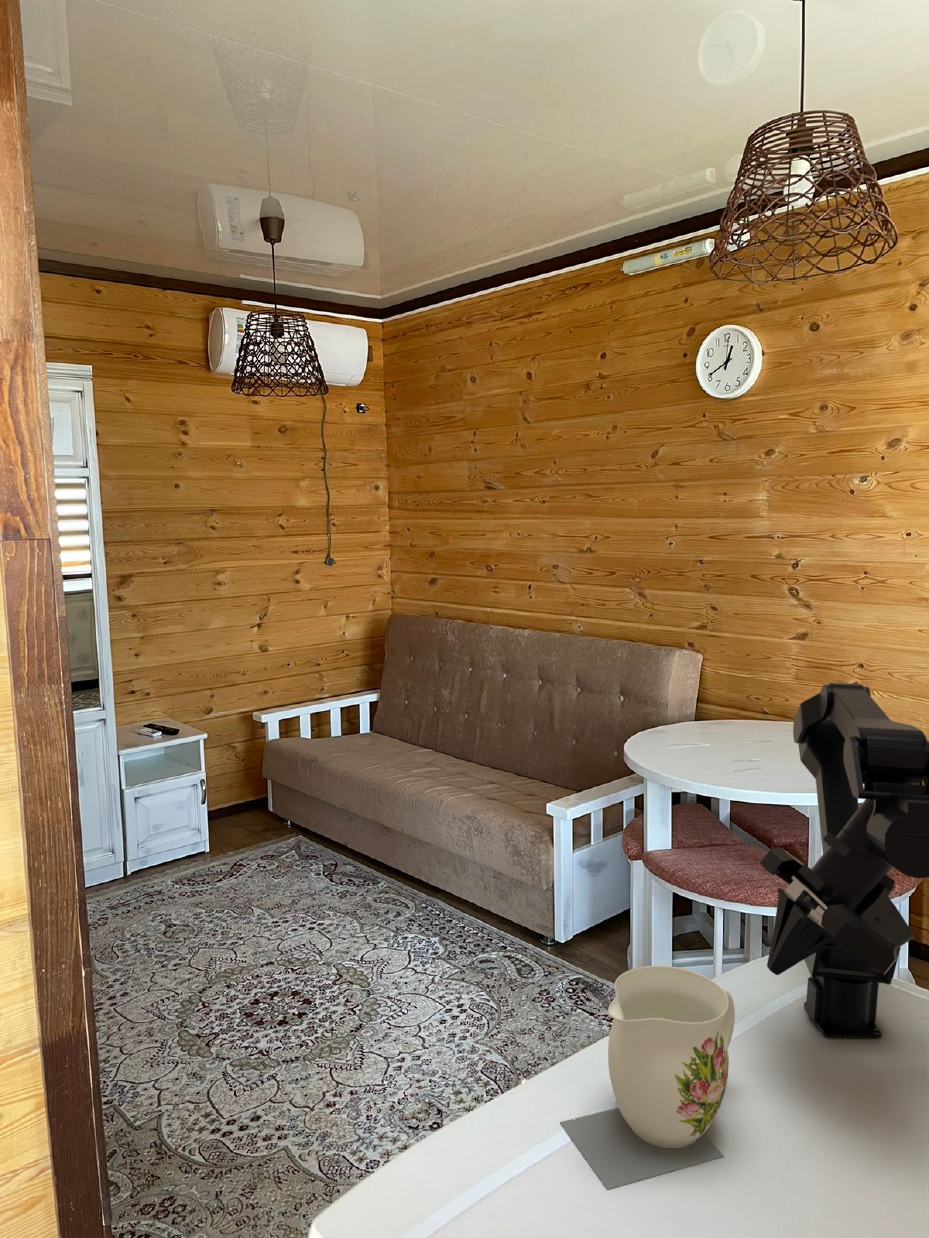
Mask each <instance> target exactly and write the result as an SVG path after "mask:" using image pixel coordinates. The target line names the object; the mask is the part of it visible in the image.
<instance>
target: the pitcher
mask: <svg viewBox="0 0 929 1238" xmlns="http://www.w3.org/2000/svg"><path fill="white" fill-rule="evenodd" d="M614 992H615V998H614V999H613V1000H612V1001H611V1002H610V1004H609V1005H608V1009H607V1014H608V1016H609V1017H611V1018H612V1019H613V1022H612V1024H611V1028H610V1030H609V1031H610V1033H609V1037H608V1046H607V1049H608V1051H607V1059H608V1060H607V1061H608V1062H607V1063H608V1074H609V1079H610V1083H611V1087H612V1092H613V1095H614V1099H615V1102H616V1104H617V1108H619V1109H620V1111H621V1113H622V1115H623V1117H624V1119H625V1120H626V1122H627V1123H628V1124H629V1126H630V1127H631V1129H632V1130H633V1132H634V1133H635V1134H636V1135H637V1136H638V1137H640V1138H641V1139H643V1140H644V1141H646V1142H648V1143H650V1144H652V1145H655V1146H659V1147H663V1148H682V1147H686V1146H688V1145H691V1144H692V1143H694V1142H695V1141H696V1140H697V1139H698V1138H699V1137H700V1136H701V1135H702V1134H705V1133H706V1132H707V1131H708V1129H709V1128H710V1126H711V1125H712V1123H713V1122H714V1119H715V1118H716V1116H717V1115H718V1111H719V1110H720V1107H721V1105H722V1102H723V1099H724V1096H725V1091H726V1088H727V1084H728V1083H727V1082H728V1078H729V1077H728V1076H729V1066H730V1065H729V1064H730V1056H729V1055H730V1054H729V1048H730V1044H731V1041H732V1038H733V1032H734V1026H735V1017H736V1016H735V1015H736V1014H735V1013H736V1011H735V1001H734V999H733V996H732V994H731V993H730V991H729V990H727V989H725V988H724V987H721V986H720V985H719V984H718V983H717V982H715V981H714V980H712V979H710V978H709V977H707V976H705V975H703V974H702V973H701V974H700V973H698V972H696V971H693V970H689V969H685V968H682V967H675V966H670V965H669V966H668V965H646V966H645V965H644V966H639V967H636V968H632V969H630V970H626V971H625V972H623V973H621V974H620V975H619V976H618V977H617V978H616V980H615V981H614Z"/></svg>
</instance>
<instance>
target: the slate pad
mask: <svg viewBox="0 0 929 1238" xmlns="http://www.w3.org/2000/svg"><path fill="white" fill-rule="evenodd" d="M574 1119H575V1120H574ZM559 1125H560V1126H561V1127H562V1128H563V1130H564V1129H565V1130H564V1131H565V1133H566V1135H567V1136H568V1137H569V1138H570V1140H571V1141H572V1142H573V1144H574V1146H575V1147H576V1149H577V1150H578V1151H579V1153H580V1154H581V1156H582V1157H583V1158H584V1160H585V1161H586V1162H587V1164H588V1165H589V1167H590V1168H591V1170H592V1171H593V1173H594V1174H595V1176H597V1178H598V1180H599V1181H600V1183H601V1184H602V1185H603V1187H604V1188H605V1190H606V1191H610V1190H614V1189H618V1188H621V1187H625V1186H628V1185H630V1184H634V1183H638V1182H641V1181H644V1180H645V1181H646V1180H649V1179H653V1178H656V1177H659V1176H662V1175H663V1176H664V1175H667V1174H670V1173H673V1172H677V1171H681V1170H684V1169H688V1168H691V1167H695V1166H699V1165H701V1164H705V1163H709V1162H712V1161H716V1160H719V1159H722V1158H723V1159H724V1158H725V1155H724V1154H723V1153H722V1151H720V1149H718V1147H717V1146H716V1144H714V1143H713V1142H712V1141H711V1140H710V1138H709V1137H707V1135H706V1134H705V1133H704V1134H702V1135H701V1136H700V1137H699V1138H698V1139H697V1140H696V1141H695V1142H694V1143H692V1144H691V1145H688V1146H686V1147H682V1148H663V1147H659V1146H655V1145H652V1144H650V1143H648V1142H646V1141H644V1140H643V1139H641V1138H640V1137H638V1136H637V1135H636V1134H635V1133H634V1132H633V1130H632V1129H631V1127H630V1126H629V1124H628V1123H627V1122H626V1120H625V1119H624V1117H623V1115H622V1113H621V1111H620V1109H619V1107H615V1108H612V1109H607V1110H603V1111H600V1112H596V1113H591V1114H587V1115H583V1116H579V1117H574V1118H571V1119H567V1120H562V1121H560V1122H559Z"/></svg>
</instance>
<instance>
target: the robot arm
mask: <svg viewBox="0 0 929 1238" xmlns="http://www.w3.org/2000/svg"><path fill="white" fill-rule="evenodd" d="M792 725H793V730H792V732H793V733H792V734H793V735H792V736H793V741H794V743H795V744H798V751H799V753H798V754H799V759H800V762H801V764H802V765H803V766H805V768H806V769H807V770H808V772H809V773H810V774H811V775H812V777H814V780H815V784H816V785H815V786H816V787H815V788H816V797H817V806H818V816H819V817H818V818H819V828H820V837H821V838H820V839H821V848H822V854H821V856H820V857H819V859H817V861H816V863H815V864H814V865H813V867H812V868H811V867H809V866H808V865H806V864H805V863H803V861H801V860H799V859H798V858H796V857H795V856H794V855H792V854H790V852H788V851H787V850H785V849H783V848H782V847H779V848H773V849H769V850H768V852H767V853H766V854H765V855H764V857H763V859H761V861H760V862H759V864H760V865H761V866H762V867H763V868H764V869H765V870H766V871H767V872H768V873H769V874H771V875H772V876H774V875H776V876H777V877H779V878H780V879H781V880H782V881H783V882H785V883H786V884H788V887H786V889H785V890H784V889H782V888H781V887H778V888H777V890H776V893H777V894H778V895H777V896H778V898H777V905H776V913H775V920H774V927H773V932H772V936H771V937H772V938H771V943H770V948H769V953H768V957H767V958H768V959H767V963H766V967H767V969H768V970H769V971H770V972H771V973H773V974H774V975H775V976H779V975H781V974H782V973H784V972H786V971H787V970H789V969H791V968H792V967H794V966H795V965H797V964H799V963H800V962H802V961H803V960H804V961H805V964H806V966H807V970H808V972H809V974H810V976H808V978H807V985H806V986H807V989H806V999H805V1002H804V1003H803V1007H804V1009H805V1011H806V1012H807V1014H808V1015H809V1017H810V1018H811V1020H812V1021H813V1023H815V1025H816V1026H817V1028H818V1029H819V1031H820V1032H821V1034H822V1035H823V1036H824V1037H826V1038H856V1039H857V1038H858V1039H859V1038H860V1039H861V1038H867V1039H868V1038H869V1039H870V1038H872V1039H873V1038H874V1039H875V1038H877V1039H880V1038H882V1037H883V1031H882V1030H881V1029H880V1028H879V1026H878V1025H877V1024H876V1021H877V1020H876V1019H877V1009H878V997H879V987H880V985H879V984H885V985H889V986H890V985H891V984H892V982H893V981H892V980H893V978H894V975H895V971H896V969H897V968H896V966H897V963H898V959H899V954H900V951H901V947H902V946H903V945H905V944H906V943H908V942H909V941H911V940H913V939H914V938H915V935H914V933H913V931H912V929H911V928H910V927H909V924H908V923H907V922H906V920H905V919H904V917H903V915H902V914H901V912H900V910H899V909H898V908H897V906H896V905H895V904H894V903H893V901H892V900H891V898H890V897H889V896H890V894H891V893H892V891H893V890H895V889H894V888H895V883H896V881H895V880H894V879H893V878H892V877H890V876H889V875H890V873H891V872H892V871H893V870H894V869H896V870H897V871H898V872H900V873H902V874H903V875H905V876H907V877H911V878H913V879H925V878H929V741H928V738H927V736H926V734H925V732H923V730H921V729H919V728H918V727H916V726H914V725H911V724H906V723H902V722H897V721H893V720H892V719H890V717H889V716H888V714H886V713H885V711H884V710H883V709H882V708H881V707H880V706H879V704H877V702H876V701H875V700H874V699H873V698H872V693H871V690H870V688H869V686H864V685H863V684H861V683H860V684H859V683H842V682H829V683H828V684H823V685H822V686H821V689H820V691H819V693H817V694H815V695H813V696H811V697H810V698H807V699H806V700H803V701H802V702H801V703H800V704H799V705H798V709H797V711H796V713H795V716H794V719H793V724H792ZM859 799H860V800H864V801H862V804H860V805H859Z"/></svg>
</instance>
